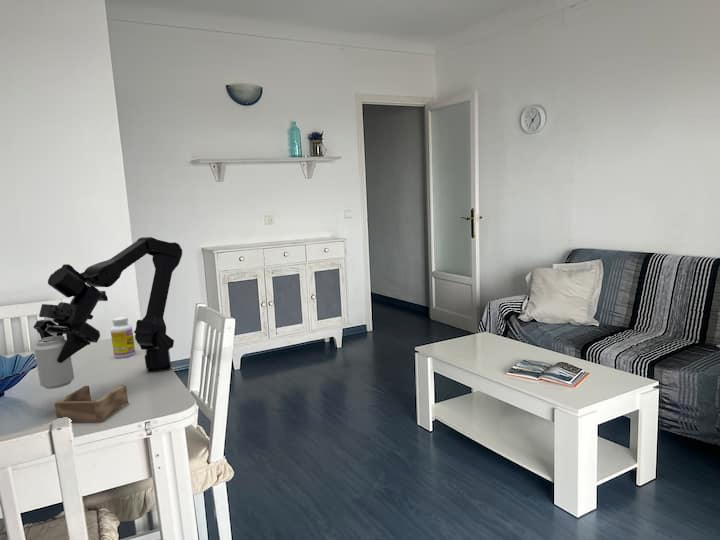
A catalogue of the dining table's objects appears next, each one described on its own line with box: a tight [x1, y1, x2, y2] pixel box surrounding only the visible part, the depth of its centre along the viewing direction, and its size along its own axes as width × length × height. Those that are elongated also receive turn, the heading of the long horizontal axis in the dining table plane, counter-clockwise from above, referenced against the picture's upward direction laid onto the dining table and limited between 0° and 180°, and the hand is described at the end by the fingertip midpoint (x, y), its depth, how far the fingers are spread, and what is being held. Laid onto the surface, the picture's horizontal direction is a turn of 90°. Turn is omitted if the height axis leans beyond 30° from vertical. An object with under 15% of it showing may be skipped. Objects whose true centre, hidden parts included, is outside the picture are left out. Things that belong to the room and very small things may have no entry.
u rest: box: [54, 384, 129, 423], centre depth 135 cm, size 11×11×5 cm
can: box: [33, 335, 75, 390], centre depth 137 cm, size 8×8×12 cm
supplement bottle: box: [110, 316, 136, 359], centre depth 183 cm, size 7×7×13 cm
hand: (48, 360), depth 135 cm, fingers closed on can, 7 cm apart
